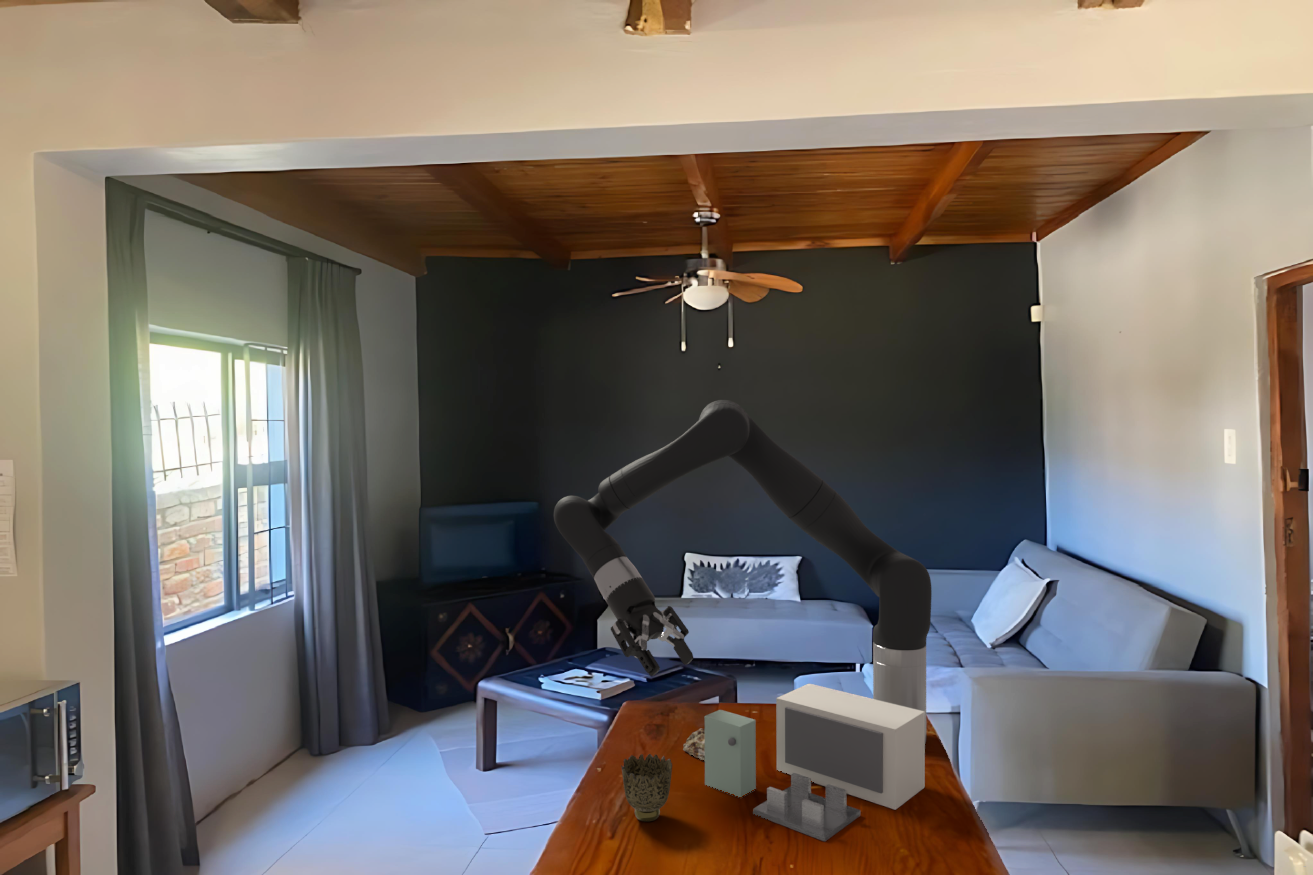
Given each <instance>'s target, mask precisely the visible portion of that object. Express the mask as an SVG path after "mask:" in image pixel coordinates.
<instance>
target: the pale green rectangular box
mask: <svg viewBox="0 0 1313 875" xmlns="http://www.w3.org/2000/svg"><path fill="white" fill-rule="evenodd" d="M756 722H757V720H756V719H755V718H754V719H753V718H750V717H747V716H744V715H740V714H737V713H733V712H730V711H726V710H723V709H718V710H716V711H714V712H711V713H709V714H706V715H705V716H704V729H705V761H704V786H706V785H707V787H709V786H710V787H709V788H712V787H713V788H712V789H715V788H716V789H715V790H717V789H718V790H717V791H720V790H722V791H721V792H723V791H724V792H723V793H725V792H728V793H730V794H729V795H731V794H734V795H735V796H734V797H736V796H738V797H737V798H739V797H742V796H743V795H745V794H747V793H749V792H750V793H752V792H753V791H752V790H754V789H756V790H757V787H756V786H757V780H756V778H757V775H756V774H757V770H756V769H757V768H756V766H757V765H756V764H757V763H756V762H757V761H756V760H757V759H756V758H757V756H756V755H757V754H756V752H757V748H756V745H757V744H756V743H757V740H756V739H757V738H756V735H757V734H756V732H757V731H756ZM751 791H752V792H751ZM754 791H755V790H754ZM728 793H727V794H728ZM750 793H749V794H750ZM747 795H748V794H747ZM745 796H746V795H745ZM742 798H743V797H742Z"/></svg>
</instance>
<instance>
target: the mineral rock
mask: <svg viewBox="0 0 1313 875" xmlns="http://www.w3.org/2000/svg"><path fill="white" fill-rule="evenodd" d="M682 750H683V751H684V752H686V753H688V754H689V756H691V755H693V756H694V757H693V756H692V757H693V758H696V759H697V758H699V759H700V761H701V760H704V761H703V762H705V728H698V729H697V730H696V731H693V732H692V733H691V734H690V735H689V737H688V738H687V739H686V740H685V743H683V749H682ZM699 759H698V760H699Z"/></svg>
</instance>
